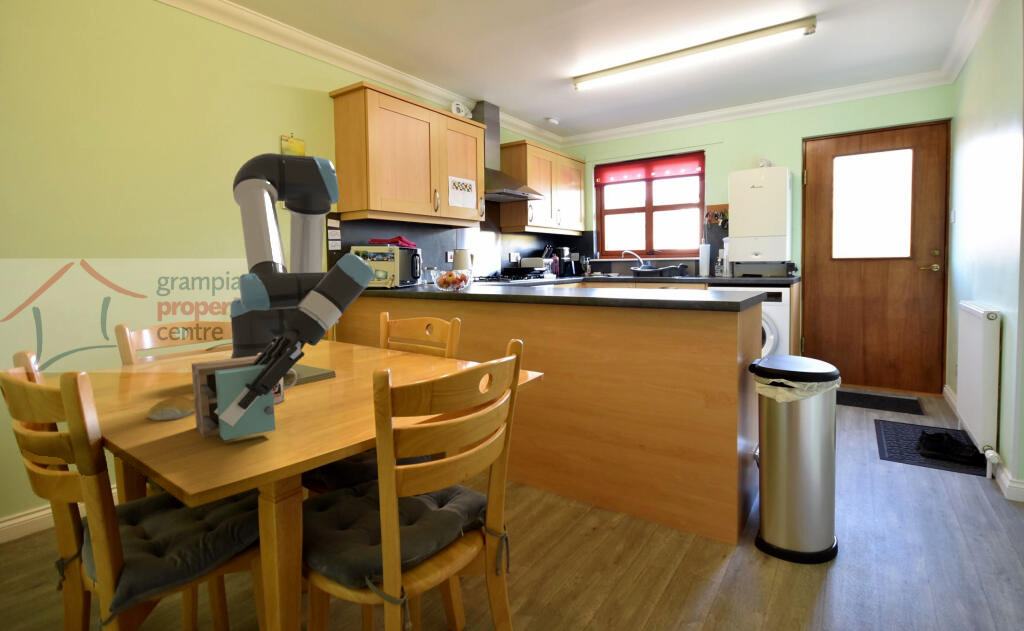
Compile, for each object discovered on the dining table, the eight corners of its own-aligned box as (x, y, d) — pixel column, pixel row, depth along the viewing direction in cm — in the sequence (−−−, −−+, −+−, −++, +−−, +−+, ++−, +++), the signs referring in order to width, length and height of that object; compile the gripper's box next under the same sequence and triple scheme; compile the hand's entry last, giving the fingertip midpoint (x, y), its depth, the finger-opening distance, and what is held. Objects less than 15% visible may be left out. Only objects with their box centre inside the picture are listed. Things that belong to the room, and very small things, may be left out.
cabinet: (196, 427, 103) (191, 363, 102) (261, 415, 111) (257, 355, 109) (210, 446, 92) (205, 375, 91) (281, 432, 100) (277, 365, 98)
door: (219, 435, 94) (214, 370, 93) (270, 425, 100) (266, 364, 98) (225, 441, 91) (220, 374, 89) (277, 431, 96) (273, 367, 95)
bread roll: (199, 408, 118) (198, 391, 118) (188, 419, 109) (187, 401, 109) (157, 411, 115) (155, 394, 115) (142, 423, 107) (141, 404, 106)
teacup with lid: (245, 409, 115) (242, 358, 114) (240, 400, 123) (237, 352, 122) (302, 401, 122) (299, 352, 121) (294, 393, 130) (291, 347, 128)
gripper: (342, 336, 97) (252, 442, 88) (311, 327, 110) (230, 419, 101) (312, 309, 93) (214, 418, 84) (284, 304, 106) (196, 398, 97)
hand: (223, 418), depth 93 cm, fingers closed on door, 3 cm apart
